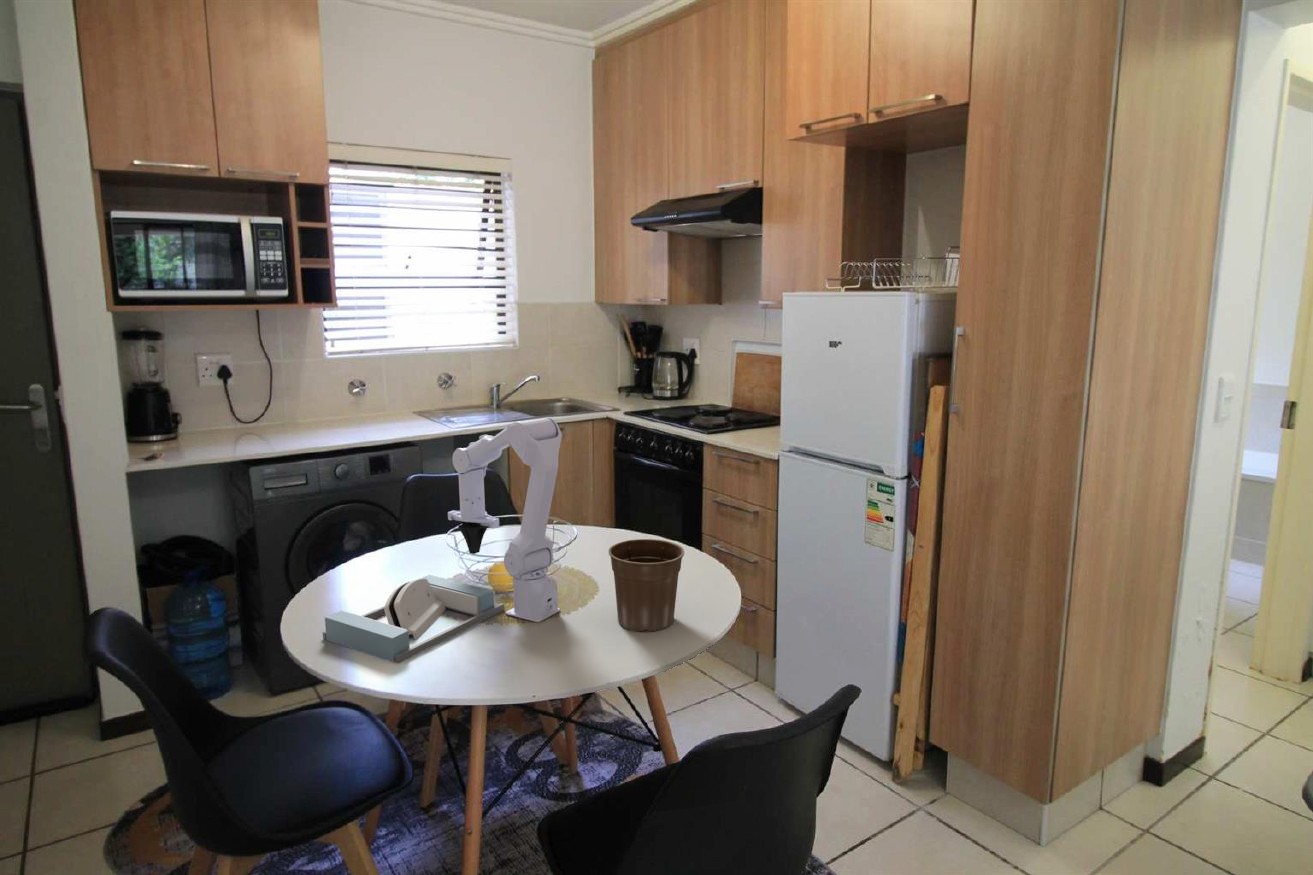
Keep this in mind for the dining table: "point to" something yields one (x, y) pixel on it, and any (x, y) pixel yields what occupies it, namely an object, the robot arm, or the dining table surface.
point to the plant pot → (646, 582)
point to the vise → (387, 633)
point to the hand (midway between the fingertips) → (474, 552)
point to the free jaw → (461, 595)
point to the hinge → (413, 607)
